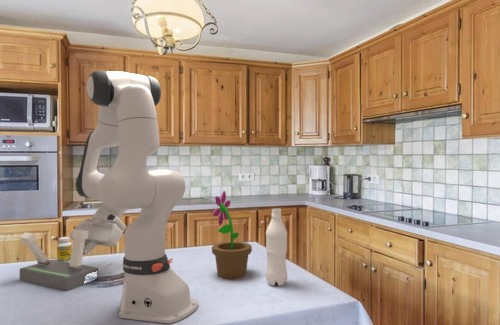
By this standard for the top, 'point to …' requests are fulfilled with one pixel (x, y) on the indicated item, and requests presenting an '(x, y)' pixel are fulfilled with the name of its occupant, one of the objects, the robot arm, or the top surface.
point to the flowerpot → (229, 247)
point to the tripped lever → (77, 249)
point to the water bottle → (276, 250)
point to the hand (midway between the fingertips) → (82, 253)
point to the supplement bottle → (64, 249)
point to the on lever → (34, 247)
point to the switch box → (55, 275)
